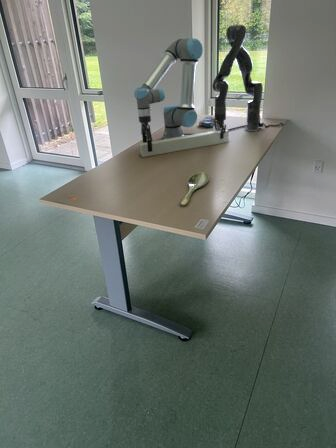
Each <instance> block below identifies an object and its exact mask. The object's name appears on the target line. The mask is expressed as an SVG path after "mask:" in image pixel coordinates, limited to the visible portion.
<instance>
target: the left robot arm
mask: <svg viewBox="0 0 336 448" xmlns="http://www.w3.org/2000/svg"><path fill="white" fill-rule="evenodd" d="M203 51H204V47H203V44H202V43H201V41H200V40H199V39H198V38H192V37H189V38H177V39H176V40H174V41H173V42H171V44H170V45H169V46H168V47H167V48H166V49H165V50H164V52H163V56H162V58H161V59H160V60H159V62H158V63H157V65H156V66H155V67H154V68H153V70H152V72H150V74H149V75H148V77H147V78H146V80H144V82H143V83H142V85H141V87H137V88H135V90H134V93H133V96H134V98H135V99H136V104H137V115H138V123H140V126H141V127H140V131H141V132H140V133H141V137H142V143H146V142H147V145H148V152H151V151H152V141H153V137H152V131H151V125H150V124H149V123H151V122H152V117H151V111H152V109H151V105H153V104H156V103H160V102H163V101H164V100H165V98H166V93H165V90H164V89H162V88H157V86H158V85H159V83H160V82H161V81H162V79H163V78H164V77H165V75H166V73H168V71H169V70H170V68H171V67H172V66H173V65H174V64H176V63H177V61H179V62H180V63H181V65H182V66H181V78H180V79H181V80H180V97H179V104H172V105H166V106H165V107H163V113H162V114H163V123H164V130H163V135H162V140H164V139H170V138H176V137H182V136H187V135H193V134H194V133H184V132H183V129H182V128H192V127H193V126H194V125H195V124H196V123H197V121H198V113H197V111H196V110H195V105H194V104H193V103H194V90H195V76H196V66H197V64H198V63H199V60H200V59H201V58H202V57H203ZM239 128H246V124H244V125H240V126H236V127H231V128H228V129H227V128H226V130H228V131H232V130H236V129H239Z"/></svg>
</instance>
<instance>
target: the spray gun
mask: <svg viewBox="0 0 336 448" xmlns="http://www.w3.org/2000/svg"><path fill="white" fill-rule="evenodd" d="M215 121H216V120H215V116H205V117H204V118H203V119H201V120H200V121H199V122H198V126H200V127H205V128H209V127H214V126H215Z"/></svg>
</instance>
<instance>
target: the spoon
mask: <svg viewBox="0 0 336 448" xmlns="http://www.w3.org/2000/svg"><path fill="white" fill-rule="evenodd" d="M209 180H210V176H209V174H208V173H206V172H203V171H200V172H199V171H198V172H195V173H194V174H192V175H191V176H189V178H188V180H187V185H188V187H189V188H188V189H189V190H188V192H187V193H186V195H185V196H184V197H183V198H182V200H181V202H180V206H183V207H185V206H187V205H188V203H189V201H190V199H191V197H192V195H193V193H194V191H196V190H197V189H199V188H201V187H203V186H205V185H206V184H207V183H208V182H209Z"/></svg>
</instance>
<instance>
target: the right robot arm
mask: <svg viewBox="0 0 336 448" xmlns="http://www.w3.org/2000/svg"><path fill="white" fill-rule="evenodd" d="M225 34H226V35H225V36H226V40H227V43H228V44H229V46H230V49H229V51H228V52H227V54H226V55H225V56H224V58H223V59H222V62H221V64H220V68H219V70H218V73H217V75H216V76H215V78H214V80H213V82H212V87H211V88H212V90H213V92H217V93H219V94H218V95H217V96H214V117H215V120H216V121H215V123H214V131H217V130H220V139H223V138H224V133H225V131H226V130H227V124H225V122H224V121H226V119H227V107H226V106H227V105H226V100H227V96H228V92H229V82H228V81H227V80H225V79H226V78H229V77H230V75H231V72H232V69H233V66H234V63H235V61H236V64H237V67H238V70H239V73H240V76H241V79H242V83H243V87H244V91H245V94H246V95H247V96H250V97H253V99H252V100H249V101H247V103H246V122H245V125H246V126H245V130H246V131H248V132H256V131H259V130H260V128H264V127H265V128H268V127H279V126H280V125H282V126H283V125H285V124H284V123H283V122H280V123H278V124H268V125H266V123H264V121H261V103H262V100H263V99H262V97H263V90H264V89H263V83H262V82H258V81H253V80H252V78H251V77H252V76H251V75H252V72H253V68H254V64H253V59H252V57H251V55H250V53H249V52H248V51H247V50H246V49H245V48H244V47H243V43H244V41H245V39H246V37H247V28H246V26H245V25H243V24H242V25H241V24H234V25H233V24H232V25H229V26H228V27H227V28H226V32H225Z"/></svg>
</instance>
